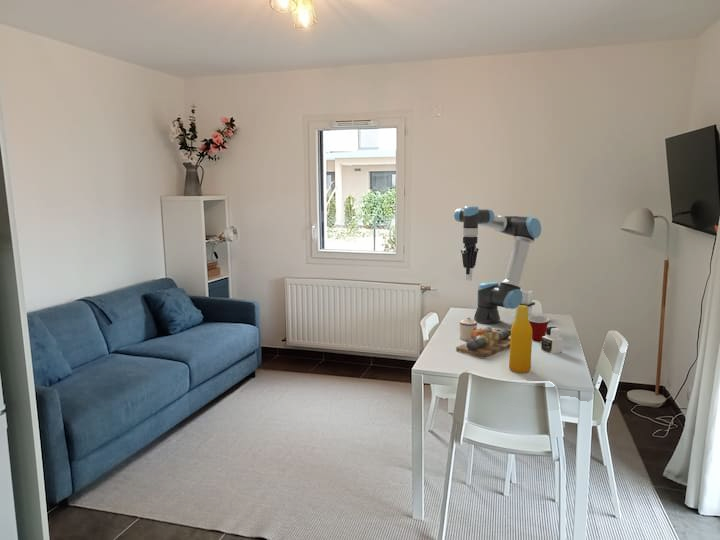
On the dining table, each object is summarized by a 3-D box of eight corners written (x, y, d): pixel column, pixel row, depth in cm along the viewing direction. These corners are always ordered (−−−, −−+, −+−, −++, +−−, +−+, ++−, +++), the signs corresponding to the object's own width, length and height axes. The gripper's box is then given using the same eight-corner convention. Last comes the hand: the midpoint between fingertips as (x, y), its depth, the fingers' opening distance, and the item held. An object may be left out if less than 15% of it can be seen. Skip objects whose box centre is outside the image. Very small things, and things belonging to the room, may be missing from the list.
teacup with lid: (474, 341, 286) (475, 320, 284) (457, 339, 290) (458, 318, 288) (479, 335, 297) (480, 314, 295) (462, 333, 301) (463, 313, 299)
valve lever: (488, 329, 277) (488, 325, 277) (493, 330, 275) (493, 327, 274) (471, 335, 268) (471, 331, 267) (476, 336, 266) (476, 332, 265)
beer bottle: (529, 367, 248) (532, 304, 243) (531, 374, 239) (534, 309, 234) (508, 365, 250) (511, 303, 245) (509, 372, 241) (512, 308, 236)
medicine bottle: (540, 350, 272) (542, 326, 270) (552, 348, 275) (553, 325, 273) (551, 354, 266) (552, 330, 264) (562, 352, 268) (564, 328, 266)
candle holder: (551, 315, 340) (552, 289, 337) (534, 323, 322) (536, 296, 319) (513, 309, 356) (514, 284, 354) (495, 316, 338) (496, 290, 335)
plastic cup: (523, 340, 288) (524, 318, 286) (532, 336, 296) (533, 314, 294) (543, 344, 281) (544, 321, 279) (552, 340, 289) (553, 317, 287)
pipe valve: (492, 337, 293) (493, 321, 292) (519, 344, 282) (520, 327, 280) (456, 350, 271) (456, 333, 270) (483, 358, 260) (484, 339, 258)
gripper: (471, 234, 296) (470, 277, 300) (456, 236, 287) (455, 280, 291) (483, 235, 290) (481, 279, 294) (468, 237, 281) (467, 282, 285)
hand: (468, 280), depth 292 cm, fingers closed
